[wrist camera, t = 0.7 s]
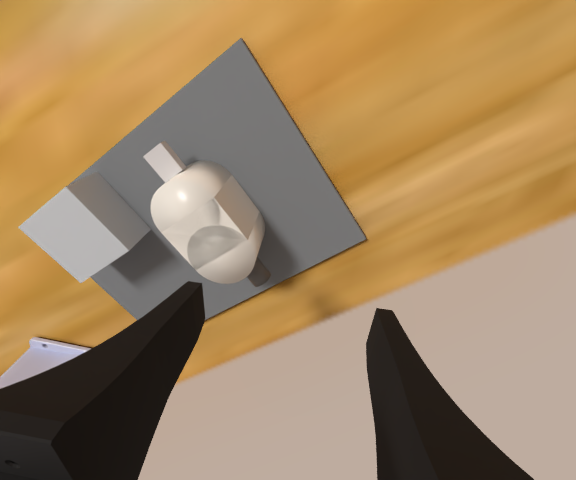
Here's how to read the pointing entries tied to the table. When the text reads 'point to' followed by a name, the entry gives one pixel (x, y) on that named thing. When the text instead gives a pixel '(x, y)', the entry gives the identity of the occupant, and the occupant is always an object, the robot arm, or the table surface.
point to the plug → (208, 218)
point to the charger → (85, 226)
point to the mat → (247, 172)
